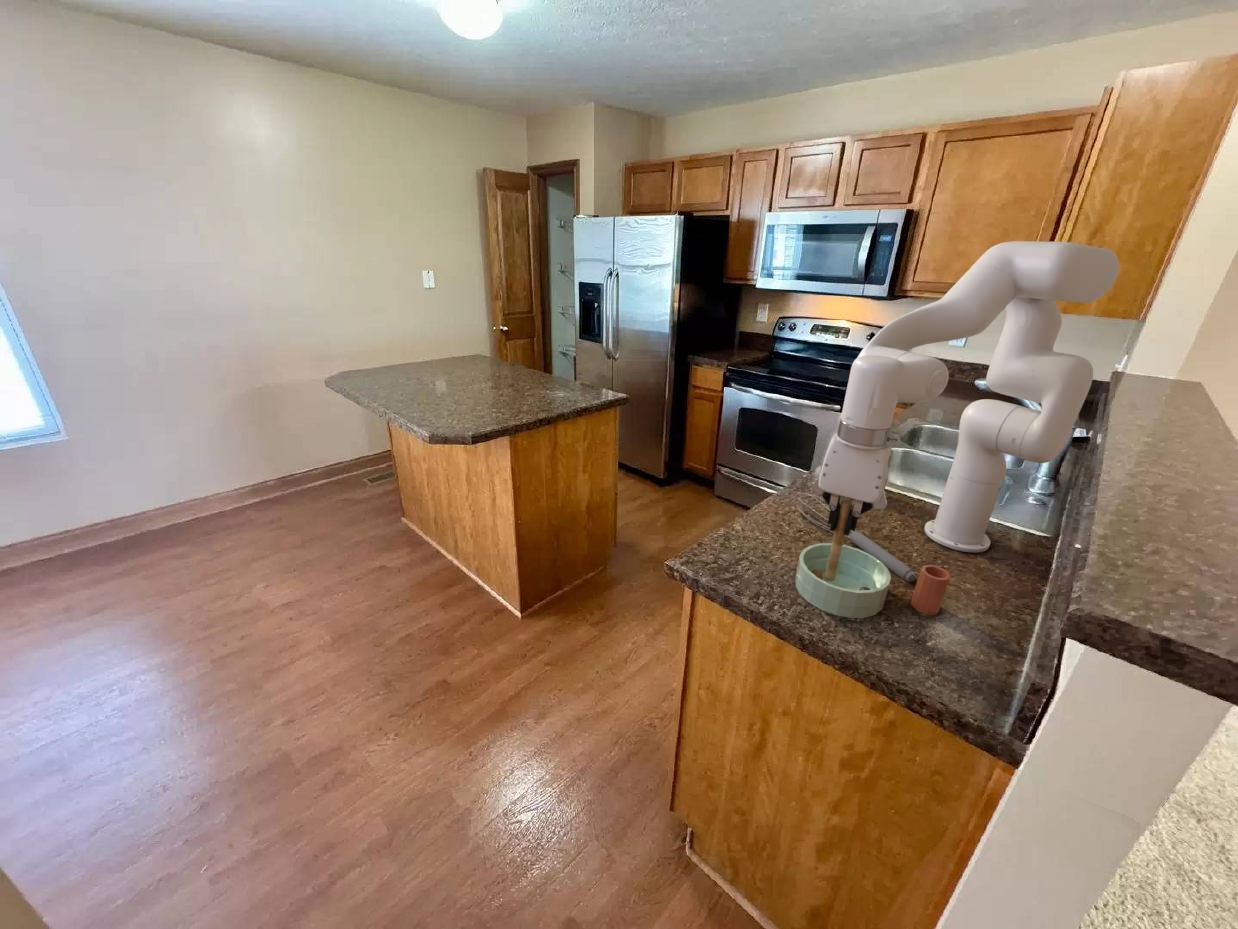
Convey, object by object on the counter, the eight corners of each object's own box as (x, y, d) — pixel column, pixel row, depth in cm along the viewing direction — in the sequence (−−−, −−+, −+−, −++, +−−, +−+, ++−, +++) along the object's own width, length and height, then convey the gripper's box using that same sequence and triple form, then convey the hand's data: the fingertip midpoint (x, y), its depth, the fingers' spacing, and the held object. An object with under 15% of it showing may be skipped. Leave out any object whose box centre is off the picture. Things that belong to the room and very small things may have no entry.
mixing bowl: (806, 559, 106) (811, 534, 103) (888, 586, 98) (895, 559, 96) (784, 599, 94) (789, 572, 91) (875, 633, 86) (884, 604, 84)
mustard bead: (810, 575, 100) (812, 565, 99) (823, 579, 98) (825, 569, 97) (807, 581, 98) (809, 571, 97) (820, 586, 97) (822, 575, 96)
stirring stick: (825, 574, 96) (842, 498, 90) (835, 577, 96) (853, 501, 89) (823, 579, 95) (840, 502, 89) (833, 582, 94) (851, 505, 88)
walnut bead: (858, 593, 95) (861, 582, 94) (872, 597, 94) (875, 587, 93) (855, 600, 93) (858, 589, 92) (870, 604, 92) (873, 594, 91)
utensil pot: (911, 598, 95) (922, 561, 92) (938, 607, 93) (951, 570, 89) (908, 611, 91) (920, 574, 88) (937, 620, 89) (950, 583, 86)
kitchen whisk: (909, 594, 96) (917, 565, 93) (789, 512, 124) (793, 489, 122) (932, 586, 98) (941, 559, 96) (808, 508, 127) (813, 485, 124)
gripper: (919, 436, 83) (892, 534, 90) (818, 417, 91) (801, 509, 98) (914, 450, 77) (886, 554, 84) (807, 429, 85) (790, 525, 92)
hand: (840, 529), depth 91 cm, fingers closed on stirring stick, 1 cm apart
